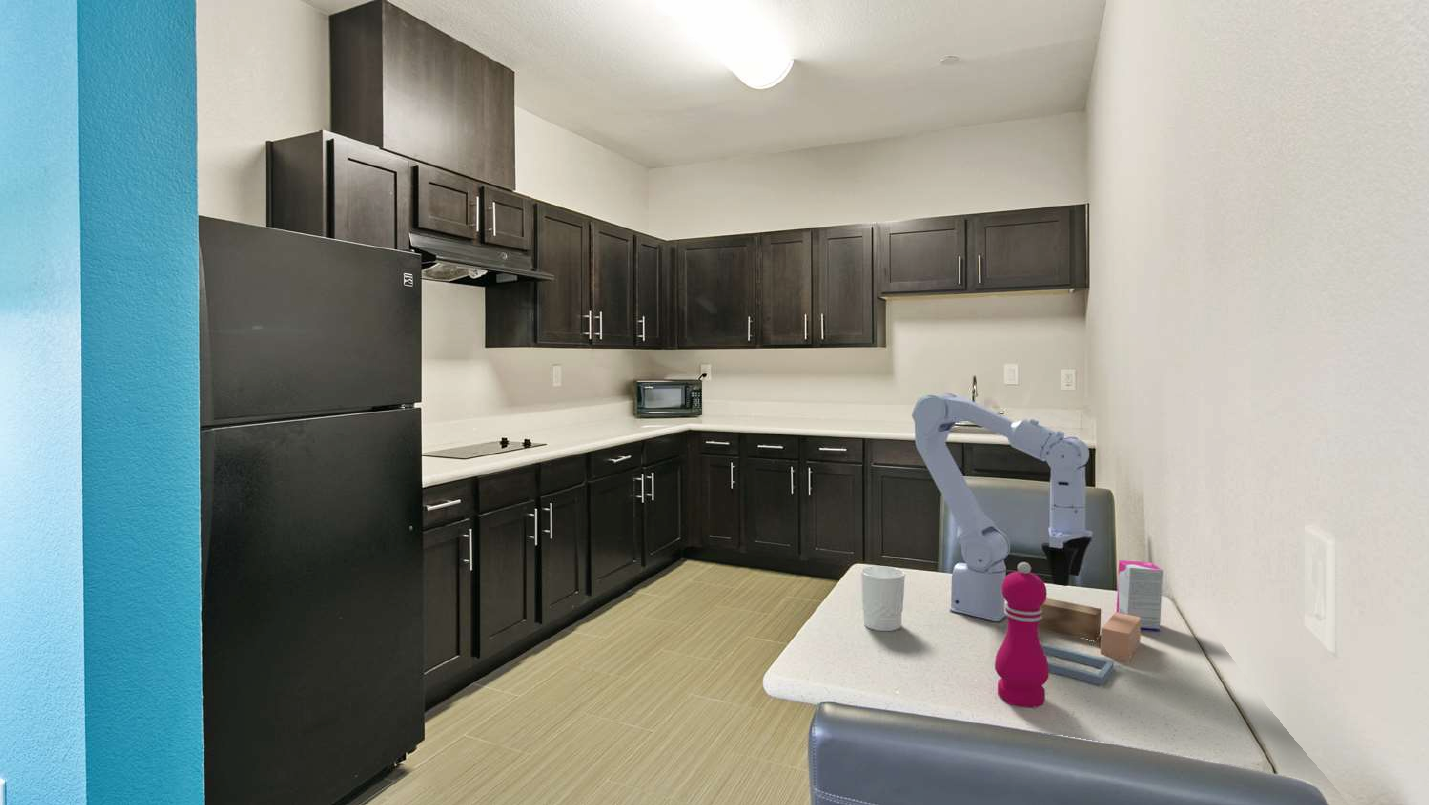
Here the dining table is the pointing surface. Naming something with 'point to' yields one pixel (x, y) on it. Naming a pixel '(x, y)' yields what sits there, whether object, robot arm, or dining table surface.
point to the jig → (1083, 658)
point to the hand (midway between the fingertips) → (1066, 579)
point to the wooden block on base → (1070, 619)
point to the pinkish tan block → (1121, 636)
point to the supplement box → (1140, 592)
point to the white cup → (882, 597)
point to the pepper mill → (1022, 641)
